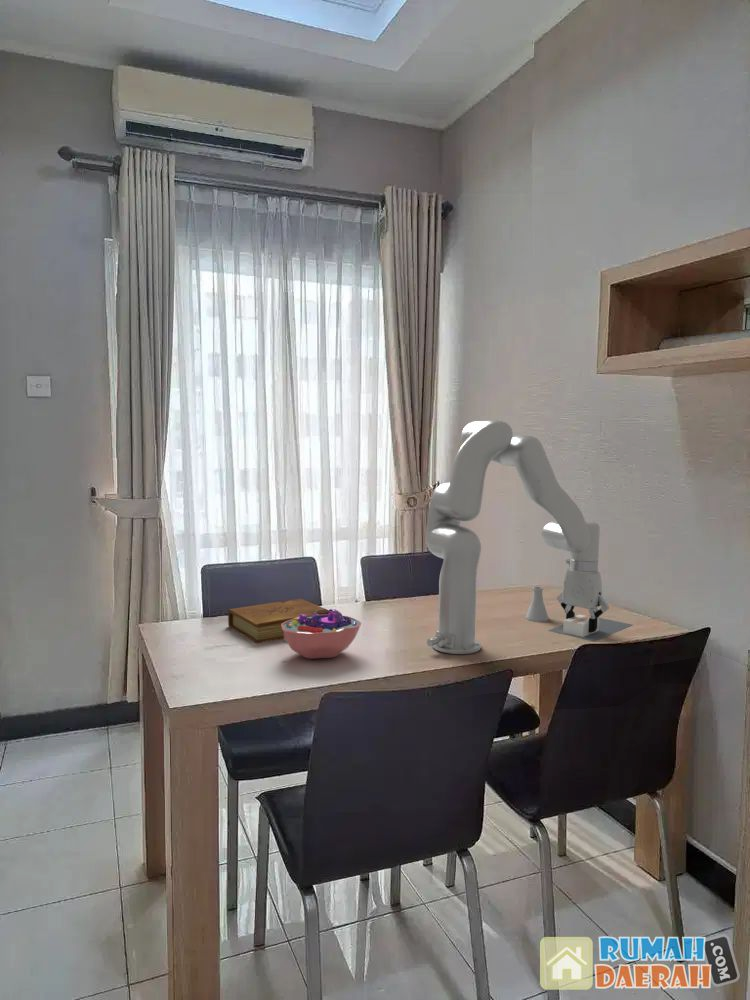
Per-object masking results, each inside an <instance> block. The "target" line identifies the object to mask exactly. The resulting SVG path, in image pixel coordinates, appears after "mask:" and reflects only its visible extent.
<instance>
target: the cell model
mask: <svg viewBox="0 0 750 1000" xmlns="http://www.w3.org/2000/svg"><path fill="white" fill-rule="evenodd" d="M328 610H329V612H328V614H309V615H303V616H302V614H300V616H299V617H296V618H293V619H291V620H288V621H286V622H284V623H282V624H281V627H282V633H283V637H284V641H285V642H286V643H287V644H288V646H289V648H290V649H291V650H292V651H293V652H294V653H296V654H297V655H300V656H302V657H304V658H306V659H313V660H315V659H330V658H335V657H337V656H338V655H340V654H341V653H342V652H344V651H345V650H347V649H348V648H349V647H350V645H352V642H353V641H354V640H355V639H356V637H357V635H358V633H359V631H360V628H361V626H362V622H361V621H360V620H358V619H356V618H354V617H351V616H348V615H347V616H346V615H343V614H342V612H340V611H339V610H337V609H334V608H330V609H328Z"/></svg>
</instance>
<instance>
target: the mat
mask: <svg viewBox="0 0 750 1000" xmlns="http://www.w3.org/2000/svg"><path fill="white" fill-rule="evenodd" d="M598 619H599V631H597V632H594V633H592V634H590V635H587V636H585V637H580V636H576V635H572V634H568V633H563V626H564V624H562V625H559V626H556V627H554V628H551V629H548V630H547V631H548V632H552V633H556V634H561V635H565V636H568V637H573V638H577V639H581V640H585V641H590V642H593V643H594V642H597V641H599V640H602V639H604V638H606V637H608V636H609V637H610V635H611V636H612V634H613V635H614V634H615V633H618V632H620V631H622V630H624V629H627V628H630V627H632V626H633V624H631V623H626V622H624V621H623V622H622V621H616V620H612V619H609V618H608V619H607V618H603V617H600V616H599V617H598Z"/></svg>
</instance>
